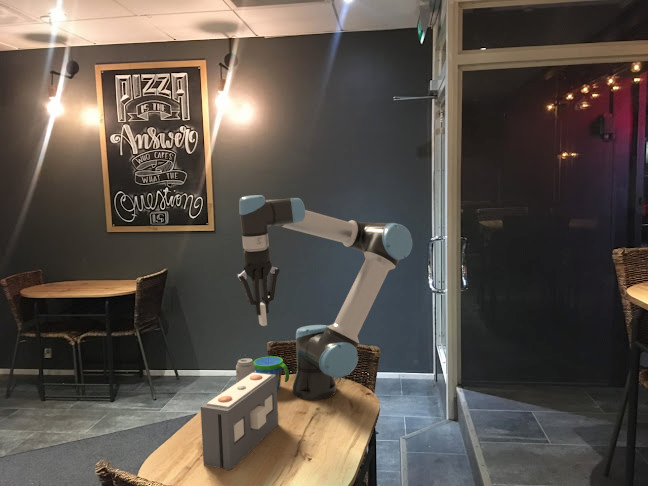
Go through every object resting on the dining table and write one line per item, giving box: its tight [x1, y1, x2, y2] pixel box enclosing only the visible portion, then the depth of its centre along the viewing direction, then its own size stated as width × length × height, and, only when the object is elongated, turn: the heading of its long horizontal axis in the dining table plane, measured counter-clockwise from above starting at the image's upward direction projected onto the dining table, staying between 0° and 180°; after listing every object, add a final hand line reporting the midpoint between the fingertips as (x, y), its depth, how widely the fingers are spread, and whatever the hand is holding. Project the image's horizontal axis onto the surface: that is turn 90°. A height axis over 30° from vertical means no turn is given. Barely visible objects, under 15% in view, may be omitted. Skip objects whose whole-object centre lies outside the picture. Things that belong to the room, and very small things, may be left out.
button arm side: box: [264, 395, 273, 415], centre depth 139 cm, size 3×4×4 cm, turn 158°
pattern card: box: [206, 373, 272, 408], centre depth 132 cm, size 6×23×1 cm, turn 158°
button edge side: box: [234, 418, 244, 442], centre depth 124 cm, size 3×4×4 cm, turn 158°
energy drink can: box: [235, 357, 255, 383], centre depth 158 cm, size 6×6×15 cm
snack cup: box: [253, 355, 290, 390], centre depth 171 cm, size 16×10×10 cm
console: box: [200, 372, 279, 471], centre depth 133 cm, size 8×26×15 cm, turn 158°
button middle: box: [250, 406, 266, 429], centre depth 131 cm, size 3×4×4 cm, turn 158°
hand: (263, 324), depth 146 cm, fingers closed
